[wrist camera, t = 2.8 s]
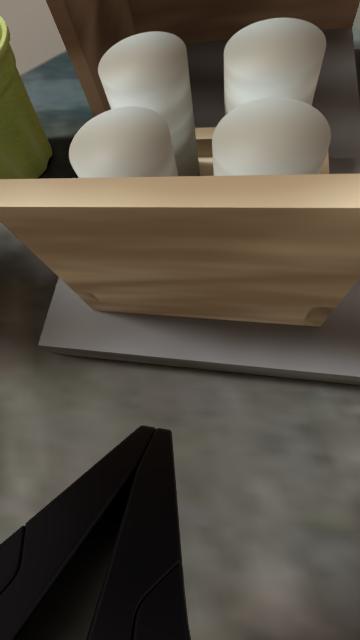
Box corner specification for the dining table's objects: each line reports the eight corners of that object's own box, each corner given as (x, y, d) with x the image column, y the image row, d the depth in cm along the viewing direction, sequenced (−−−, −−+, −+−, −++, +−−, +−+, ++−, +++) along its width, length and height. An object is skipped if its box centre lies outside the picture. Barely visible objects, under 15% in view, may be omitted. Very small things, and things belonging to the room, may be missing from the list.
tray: (320, 326, 16) (416, 208, 8) (93, 310, 19) (-16, 206, 10) (315, 157, 20) (375, -37, 12) (130, 162, 23) (74, 3, 14)
